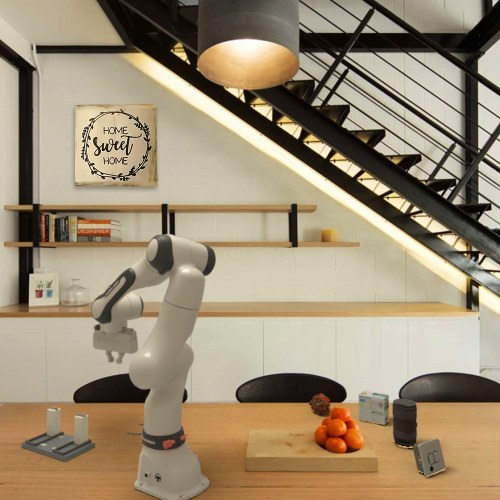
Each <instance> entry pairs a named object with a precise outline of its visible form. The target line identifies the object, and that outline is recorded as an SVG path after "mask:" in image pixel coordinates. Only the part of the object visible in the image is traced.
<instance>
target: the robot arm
mask: <svg viewBox="0 0 500 500" xmlns="http://www.w3.org/2000/svg"><path fill="white" fill-rule="evenodd" d="M216 262H217V259H216V253H215V249H213V248H212V247H210V246H209V245H207V244H205V243H199V242H196V241H193V240H191V239H189V238H185V237H180V236H176V235H174V234H170V233H169V234H168V233H166V234H157V235H154V236H153V237H152V238H151V239H150V241H148V245H147V248H146V252H145V253H144V255H142V256H141V258H140V259H139V260H138V261H137V262H135V263H134V264H133V265H131V266H130V267H129V268H127V269H125V270H124V271H123V272H121V273H120V275H118V277H116V279H114V281H113V282H112V283H111V284H109V285H107V286H106V287H105V289H104V292H103V293H101V294H99V295H98V296H97V297H95V299H94V300H93V302H92V303H91V308H90V309H91V310H90V312H91V316H92V318H93V319H94V320H95V321H96V322H97V323H95V324H94V325H93V328H92V329H93V333H92V334H93V335H92V346H93V349H95V350H101V351H105V355H106V358H107V363H114V362H115V364H118V365H120V364H122V363H123V359H124V356H125V354H128V355H132V354H136V353H137V352H138V350H139V343H138V342H139V341H138V335H137V331H136V330H135V329H134V328H133V327H128V321H131V320H132V321H133V320H138V319H140V318H141V316H142V314H143V312H144V308H145V305H144V304H145V303H144V301H143V298H142V297H141V296H140V295H139V294H137V293H133V291H136V290H141V289H145V288H151V287H155V286H158V285H159V286H160V285H161V284H162V283H163V282H165V281H166V280H167V279H169V281H168V285H167V288H166V291H165V294H164V295H163V296H164V297H163V300H162V304H161V305H160V306H161V307H160V310H159V313H158V317H157V319H156V322H155V323H154V327H153V328H152V330H151V332H150V334H149V335H148V337H147V339H146V341H145V343H144V344H143V346H142V348H141V350H140V351H139V352H138V353H137V354H136V356H135V357H134V358H133V359H132V360H131V362H130V363H129V368H128V375H129V379H130V381H131V382H132V384H133V385H134V386H135V387H136V388H138V389H140V390H150V391H149V393H148V395H147V396H146V399H145V402H144V404H143V405H144V406H143V408H144V410H143V416H144V417H143V424H144V425H143V428H142V432H141V433H142V435H141V444H142V445H143V446H142V449H141V452H140V454H139V459H138V465H137V466H138V468H137V477H136V478H137V479H136V480H135V482H134V484H133V488H134V489H135V490H138V491H140V492H143V493H145V494H147V495H150V496H152V497H155V498H157V499H159V500H190V499H191V498H194V497H195V496H198V495H200V494H201V493H203V492H204V491H206V490H207V488H208V487H209V486H210V480H209V479H208V478H207V477H206V476H205V475H203V474H202V469H201V462H200V460H199V456H198V454H196V453H193V451H192V449H191V448H190V446H189V445H188V444H187V442H186V440H187V439H188V434H185V430H184V428H183V427H184V426H183V425H182V417H183V412H182V411H183V399H184V394H185V389H186V384H187V379H188V376H189V371H190V369H191V367H192V365H193V363H194V359H195V354H194V350H193V348H192V347H191V346H190V345H189V344H188V343H187V341H188V339H190V337H191V335H192V334H193V332H194V329H195V326H196V324H197V323H196V322H197V319H198V315H199V313H200V309H201V306H202V302H203V297H204V293H205V288H206V287H205V286H206V277H207V276H209V275H210V274H211V273H212V272H213V270H214V269H215V266H216ZM113 352H116V353H117V355H118V357H117V358H116V359H115V357H114V356H113V354H112V353H113Z"/></svg>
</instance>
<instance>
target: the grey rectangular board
mask: <svg viewBox="0 0 500 500" xmlns="http://www.w3.org/2000/svg"><path fill="white" fill-rule="evenodd" d="M21 448H23V449H25V450H29V451H31V452H34V453H37V454H40V455H42V456H43V455H44V456H46V457H50V458H53V459H55V460H59V461H61V462H64V463H66V462H68V461H70V460H73V459H75V458H76V457H78V456H80V455H82V454H84V453H86V452H89V451H90V450H92V449H94V448H96V443H95V442H94V441H92V439H89V438H88V441H86V442H84V443H82V444H80V445H78V444H75V443H74V435H70V434H67V433H64V431H62V430H61V433H58V434H56V435H54V436H48V435H47V431H46V432H44V433H41V434H38V435H36V436H33V437H31V438H29V439H26V440H24V441H23V442H21Z"/></svg>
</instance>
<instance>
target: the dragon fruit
mask: <svg viewBox="0 0 500 500" xmlns="http://www.w3.org/2000/svg"><path fill="white" fill-rule="evenodd" d="M308 405H309V406H310V409H311V410H312V411H313V412H314V413H317V414H318V415H322V416H323V415H324V414H326V413H327V414H328V413H329V412H330V407H331V400H330V398H329V396H326V395H325V394H323V393H322V392H321V393H319V394H315V395H314V396H313V397H312V399H311V400H310V401H309V402H308Z"/></svg>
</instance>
